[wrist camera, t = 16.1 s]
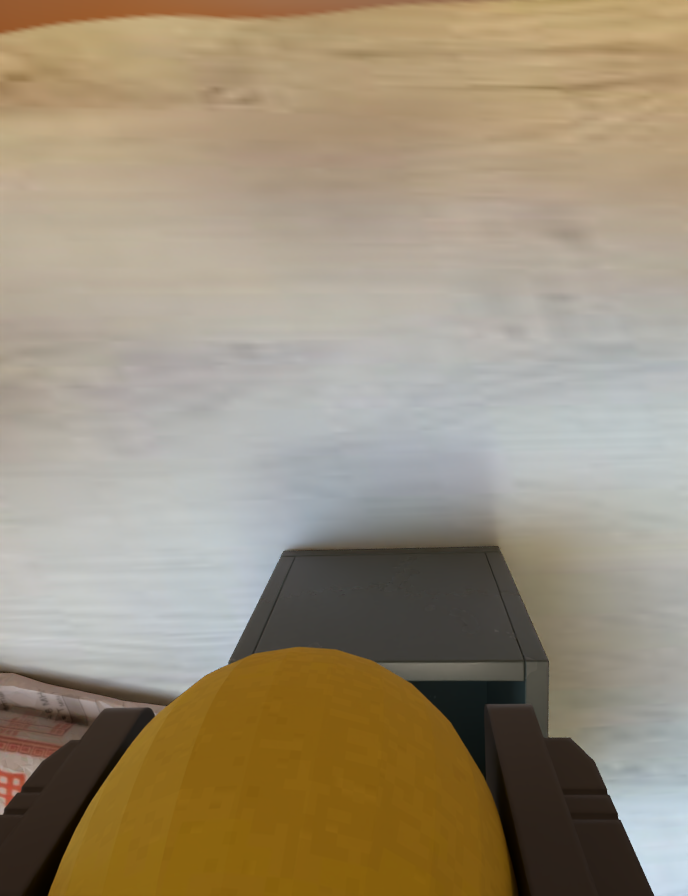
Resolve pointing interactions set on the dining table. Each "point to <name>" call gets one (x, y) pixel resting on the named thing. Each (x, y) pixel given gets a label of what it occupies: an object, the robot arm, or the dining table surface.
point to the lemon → (293, 792)
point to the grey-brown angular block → (42, 725)
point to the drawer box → (413, 625)
